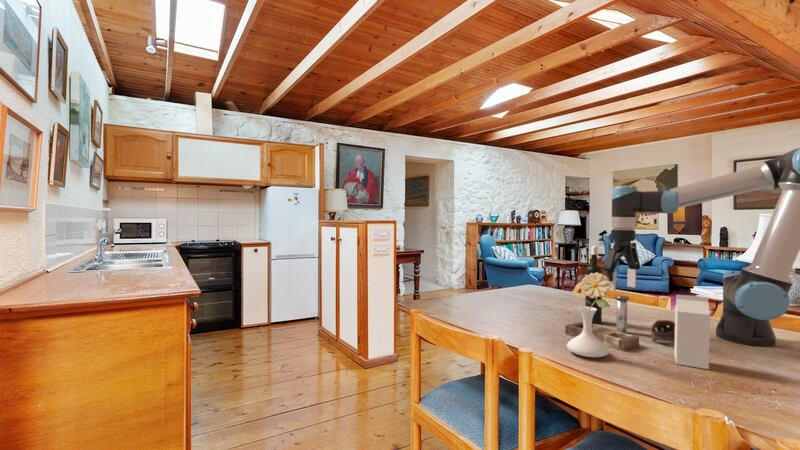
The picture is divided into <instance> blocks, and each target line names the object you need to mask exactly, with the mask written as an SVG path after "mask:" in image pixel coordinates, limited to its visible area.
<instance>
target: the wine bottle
mask: <svg viewBox="0 0 800 450" xmlns="http://www.w3.org/2000/svg"><path fill="white" fill-rule="evenodd" d="M590 251H591V253H590V254H591V258H590V259H591V261H590V263H591V265H587V266H586V268H585V275H590V273H593V274H594V273H596V272H598V273H599V274H603V267H601V266H599V265H598V245H591V248H590ZM584 297H585V298H584V299H585V300H587V301H588V302H589V303H588V302H586V301H585V300H584V302H585V307H590V306H591V305H592V304H593V303H594V301H595V300H596V298H590V297H589V296H586V295H585V296H584ZM599 299H603V296H602V297H598V298H597V300H599ZM592 307H593V308H596V309H597V311H596V312H595V313H594V315H593V319H592V325H600V324H602V319H603V318H602V315H603V314H602V313H603V311H602V309H603V307H599V306H598V305H597V303H596V302H595V303H594V305H593V306H592Z"/></svg>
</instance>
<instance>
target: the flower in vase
mask: <svg viewBox="0 0 800 450" xmlns="http://www.w3.org/2000/svg"><path fill="white" fill-rule="evenodd" d="M608 280H609V278H607V275H604V274H603V273H602V274H599V273H598V272H596V273H594V274H593V273H590V275H586V274H585V276H584V277H582V278H581V281H580V282H579V287H580V290H581V294H583V295H585V296H589V297H590V298H596V300H595V301H594V303H595V302H596V303H597V305H598V306H599V307H602V308H610V307H611V305H610V303H609V302H608V301H607V300H606V299H604V298H603V297H605V295H606V294H607V292H609V291H610V290H609V289H610V287H611V285H610V284H609V283H610V281H608ZM579 297H581V296H580V294H579ZM598 297H602V299H599V300H597V298H598ZM581 300H583V301H584V302H585V301H586V302H588V301H587V300H585V298H584V297H581ZM588 303H589V302H588ZM594 303H593V304H592V305H591V306H590V307H585V306H578V309H579V311H580V312H581V315H582V320H583V321H582V322H583V324H584V326H583V331H582V333H581V334H580V335H578V336H576V337H573V338H571V339H570V340H569V341H568V342H567V343H566V348H567V350H568V351H570V353H573V354H576V355H578V356H582V357H584V358H585V357H586V358H602V357H605V356H607V355H608V354H609V353H610V350H609V347H608V346H605V345H604V344H603V343H602V342H601V341H600V340H599V339H597V338H596V337H595V336H594V334H593V333H592V325H593V324H592V319H593V315H594V313H595V312H596V311H597V309H596V308H593V307H592V306H593V305H594Z"/></svg>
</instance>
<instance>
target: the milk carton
mask: <svg viewBox="0 0 800 450" xmlns="http://www.w3.org/2000/svg"><path fill="white" fill-rule="evenodd" d="M675 297H676V299H675V304H674V308H675V309H674V322H675V339H674V345H673V346H674V348H673V350H674V351H673V352H674V360H675V363H676V364H677V365H681V366H687V367H692V368H698V369H699V368H700V369H704V370H709V369H710V327H711V324H710V322H711V320H710V319H711V317H710V316H711V313H710V305H709V297H708V296H707V297H706V296H697V295H695V296H694V295H687V294H686V295H684V294H676V295H675Z"/></svg>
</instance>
